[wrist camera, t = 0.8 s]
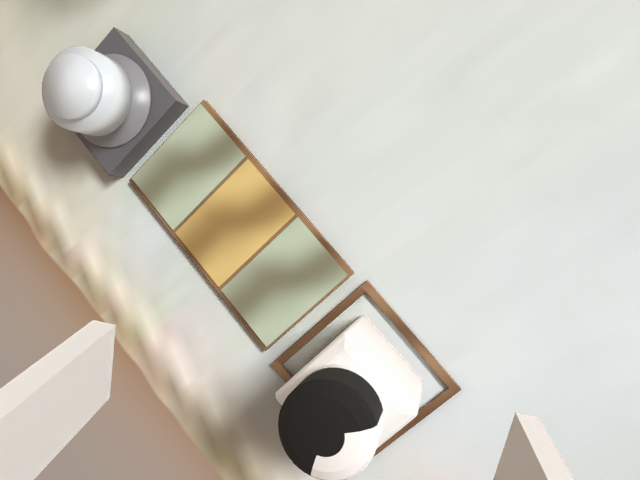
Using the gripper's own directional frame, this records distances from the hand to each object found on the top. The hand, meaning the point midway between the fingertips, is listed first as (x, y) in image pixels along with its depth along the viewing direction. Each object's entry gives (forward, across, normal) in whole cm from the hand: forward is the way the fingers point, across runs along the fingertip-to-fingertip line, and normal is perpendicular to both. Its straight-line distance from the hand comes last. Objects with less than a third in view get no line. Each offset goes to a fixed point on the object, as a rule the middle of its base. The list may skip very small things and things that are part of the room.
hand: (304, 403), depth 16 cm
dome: (+27, +22, -6) cm, 36 cm away
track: (+26, +9, +2) cm, 28 cm away
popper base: (+30, +22, -6) cm, 38 cm away
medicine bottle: (+22, -4, +11) cm, 25 cm away
